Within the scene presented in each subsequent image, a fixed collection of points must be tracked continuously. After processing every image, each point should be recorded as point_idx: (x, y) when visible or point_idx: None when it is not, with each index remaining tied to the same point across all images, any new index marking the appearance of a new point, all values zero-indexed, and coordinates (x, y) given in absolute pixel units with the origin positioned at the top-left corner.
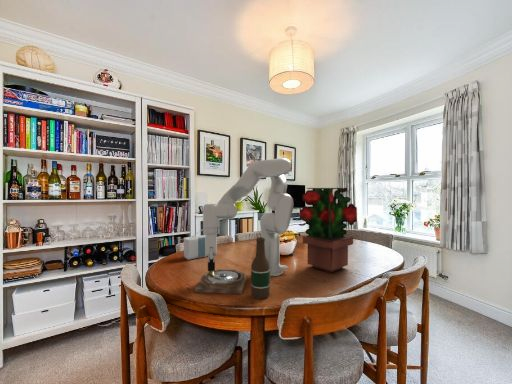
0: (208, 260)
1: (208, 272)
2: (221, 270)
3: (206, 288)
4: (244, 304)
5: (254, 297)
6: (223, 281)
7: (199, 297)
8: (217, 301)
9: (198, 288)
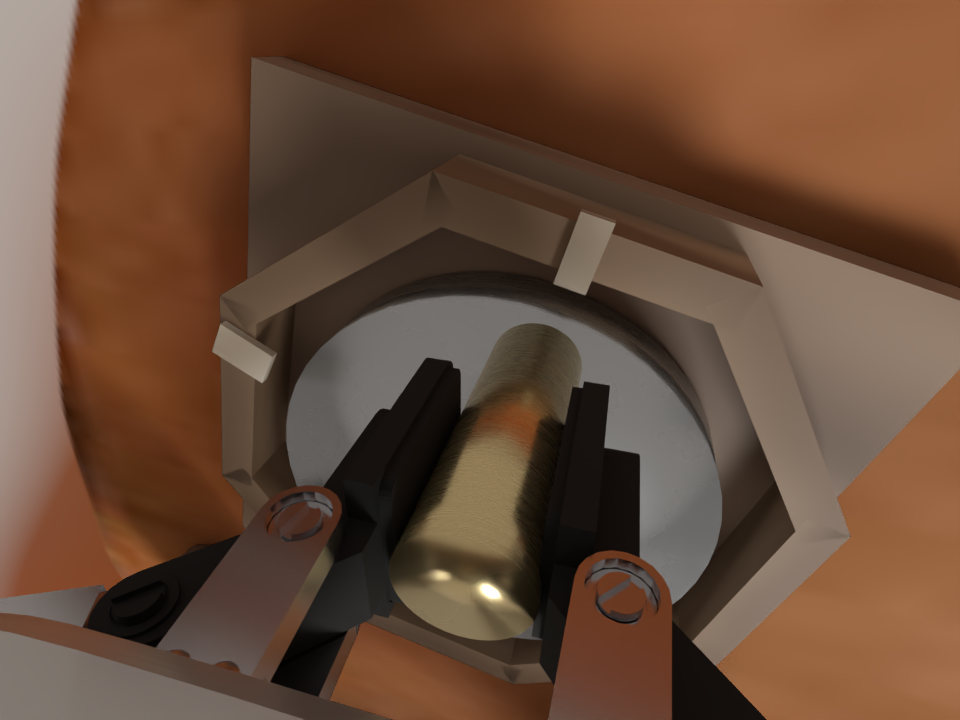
0: (237, 545)
1: (738, 342)
2: (773, 543)
3: (269, 229)
4: (103, 465)
5: (190, 548)
6: (291, 457)
7: (151, 121)
8: (105, 301)
9: (262, 112)
